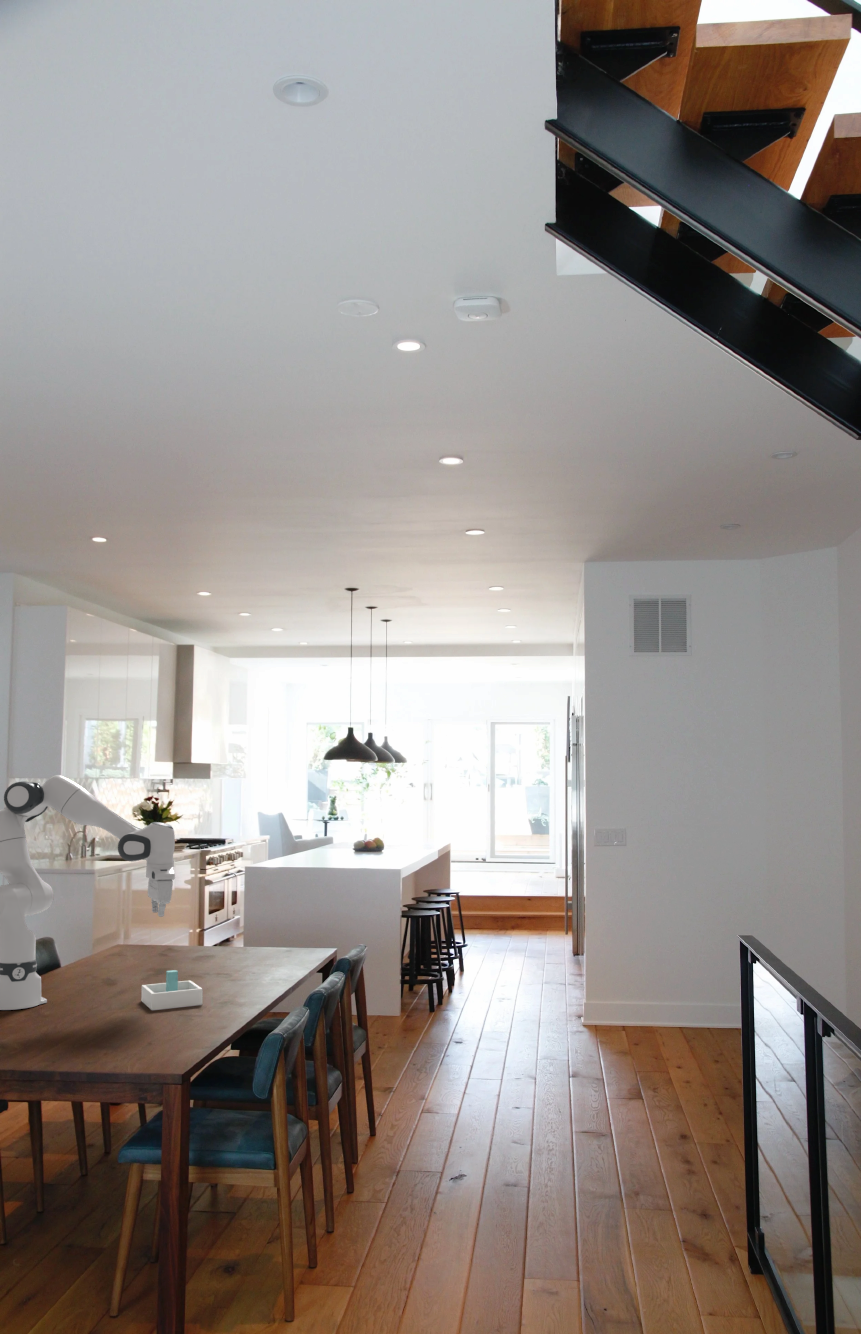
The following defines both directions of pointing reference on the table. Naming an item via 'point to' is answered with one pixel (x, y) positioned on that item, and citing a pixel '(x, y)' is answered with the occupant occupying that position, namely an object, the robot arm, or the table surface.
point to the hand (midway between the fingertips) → (157, 914)
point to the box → (172, 995)
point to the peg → (171, 980)
